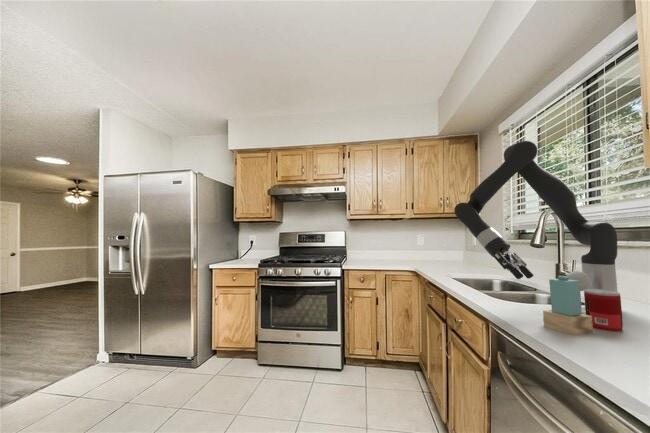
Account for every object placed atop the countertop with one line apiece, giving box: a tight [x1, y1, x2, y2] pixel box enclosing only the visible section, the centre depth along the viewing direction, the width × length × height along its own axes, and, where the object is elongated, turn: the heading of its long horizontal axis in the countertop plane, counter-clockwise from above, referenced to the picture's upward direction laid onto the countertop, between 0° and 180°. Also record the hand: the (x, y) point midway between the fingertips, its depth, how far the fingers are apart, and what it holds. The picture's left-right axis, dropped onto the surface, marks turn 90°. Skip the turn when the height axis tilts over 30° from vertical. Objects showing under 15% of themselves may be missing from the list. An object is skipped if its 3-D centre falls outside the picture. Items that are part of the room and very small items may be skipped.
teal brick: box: [548, 275, 582, 316], centre depth 83 cm, size 5×5×11 cm
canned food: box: [583, 289, 624, 332], centre depth 84 cm, size 8×8×11 cm
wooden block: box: [542, 309, 594, 336], centre depth 83 cm, size 8×8×5 cm
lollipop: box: [565, 270, 592, 314], centre depth 99 cm, size 7×7×15 cm
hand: (526, 277), depth 94 cm, fingers open, 8 cm apart
